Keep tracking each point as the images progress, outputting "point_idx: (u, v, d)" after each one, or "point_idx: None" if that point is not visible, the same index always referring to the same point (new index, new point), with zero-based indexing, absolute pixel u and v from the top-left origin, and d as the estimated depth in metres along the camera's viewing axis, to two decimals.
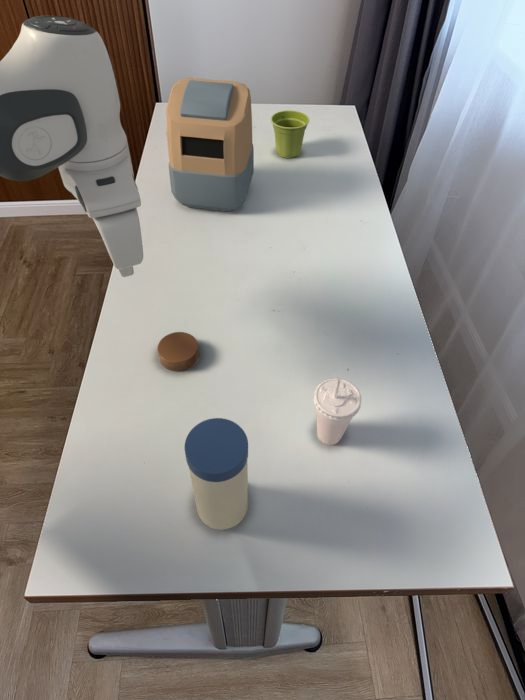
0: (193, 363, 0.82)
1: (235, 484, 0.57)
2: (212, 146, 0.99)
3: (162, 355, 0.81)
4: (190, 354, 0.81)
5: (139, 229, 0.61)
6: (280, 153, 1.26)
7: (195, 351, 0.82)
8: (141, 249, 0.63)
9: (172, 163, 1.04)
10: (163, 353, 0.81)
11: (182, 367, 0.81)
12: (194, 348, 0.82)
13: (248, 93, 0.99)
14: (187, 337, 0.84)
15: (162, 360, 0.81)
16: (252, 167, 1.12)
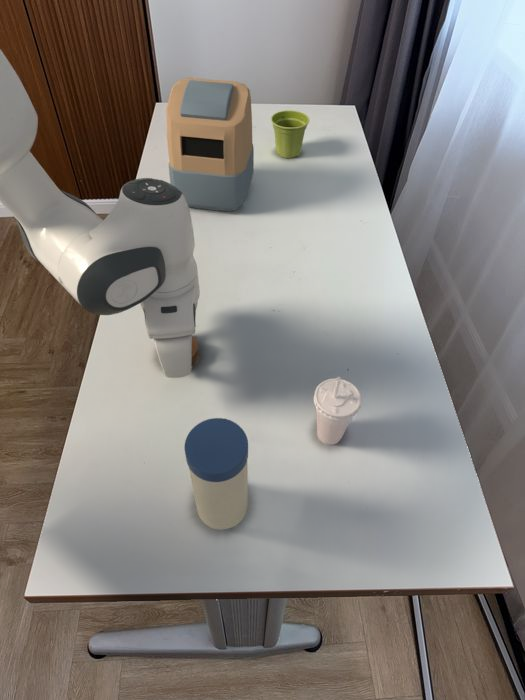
0: (193, 363, 0.82)
1: (235, 484, 0.57)
2: (212, 146, 0.99)
3: None
4: None
5: (190, 352, 0.69)
6: (280, 153, 1.26)
7: (195, 351, 0.82)
8: (189, 366, 0.71)
9: (172, 163, 1.04)
10: None
11: None
12: (194, 348, 0.82)
13: (248, 93, 0.99)
14: None
15: None
16: (252, 167, 1.12)
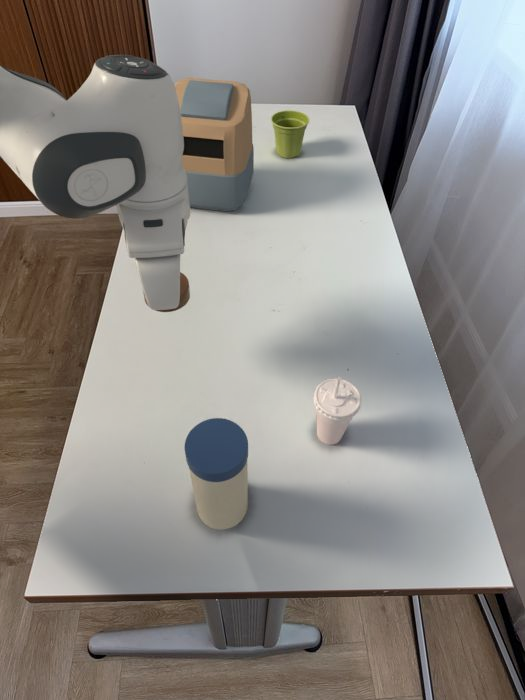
0: (183, 303, 0.72)
1: (235, 484, 0.57)
2: (212, 146, 0.99)
3: None
4: None
5: (177, 276, 0.59)
6: (280, 153, 1.26)
7: (185, 289, 0.71)
8: (177, 295, 0.60)
9: None
10: None
11: None
12: (184, 286, 0.72)
13: (248, 93, 0.99)
14: None
15: None
16: (252, 167, 1.12)
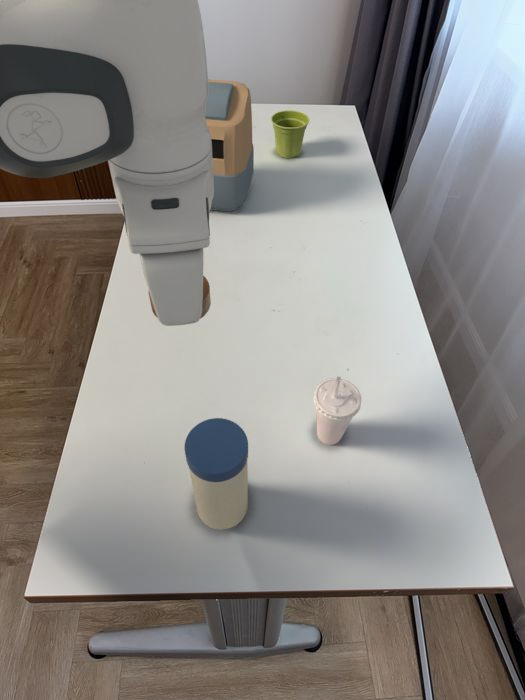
0: (202, 313, 0.55)
1: (235, 484, 0.57)
2: (212, 146, 0.99)
3: None
4: None
5: (200, 279, 0.42)
6: (280, 153, 1.26)
7: (205, 294, 0.54)
8: (199, 305, 0.43)
9: None
10: None
11: None
12: (204, 290, 0.54)
13: (248, 93, 0.99)
14: None
15: None
16: (252, 167, 1.12)
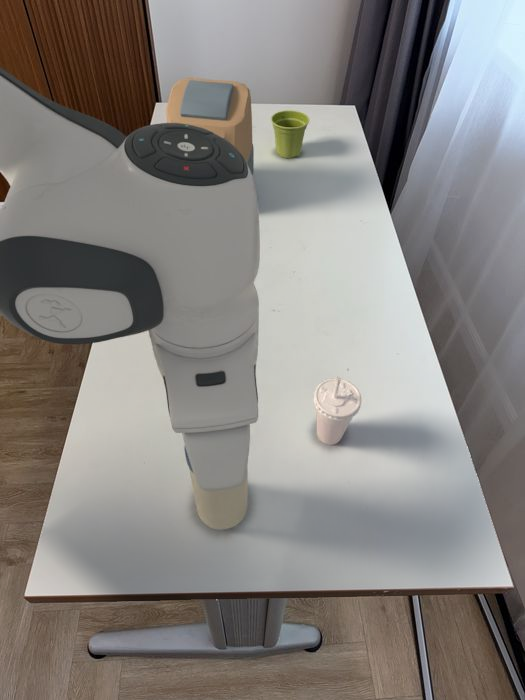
0: None
1: None
2: None
3: None
4: None
5: (247, 452, 0.38)
6: (280, 153, 1.26)
7: None
8: (243, 474, 0.40)
9: None
10: None
11: None
12: None
13: (248, 93, 0.99)
14: None
15: None
16: (252, 167, 1.12)
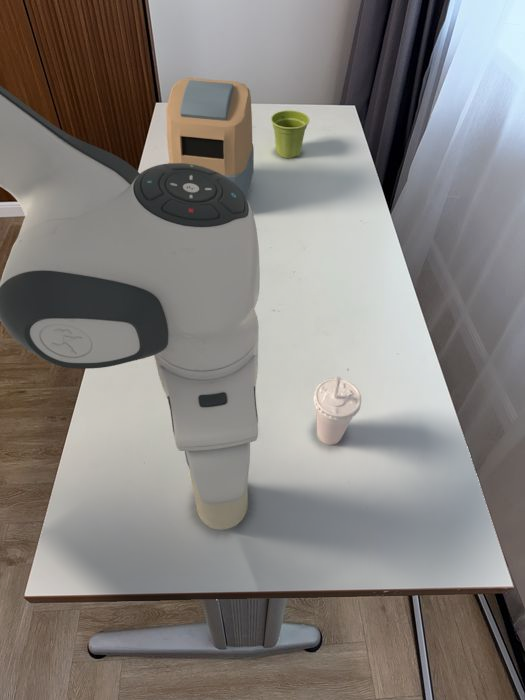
0: None
1: None
2: (212, 146, 0.99)
3: None
4: None
5: (247, 469, 0.40)
6: (280, 153, 1.26)
7: None
8: (244, 488, 0.42)
9: None
10: None
11: None
12: None
13: (248, 93, 0.99)
14: None
15: None
16: (252, 167, 1.12)
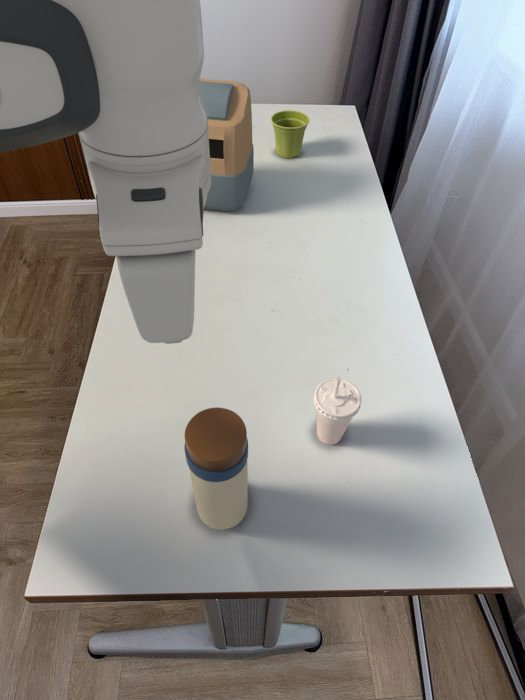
0: (239, 458, 0.54)
1: (235, 484, 0.57)
2: (212, 146, 0.99)
3: (192, 449, 0.52)
4: (235, 447, 0.52)
5: (191, 288, 0.34)
6: (280, 153, 1.26)
7: (243, 441, 0.53)
8: (190, 320, 0.36)
9: None
10: (194, 444, 0.52)
11: (223, 466, 0.53)
12: (241, 436, 0.53)
13: (248, 93, 0.99)
14: (229, 417, 0.55)
15: (192, 456, 0.52)
16: (252, 167, 1.12)
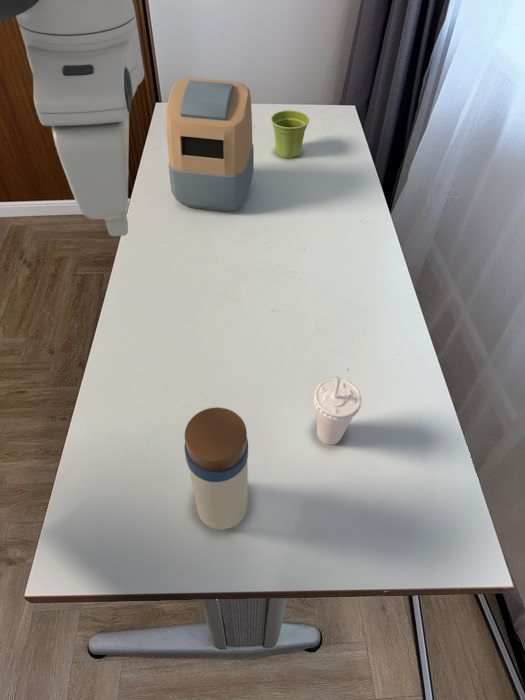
0: (239, 458, 0.54)
1: (235, 484, 0.57)
2: (212, 146, 0.99)
3: (192, 449, 0.52)
4: (235, 447, 0.52)
5: (120, 158, 0.38)
6: (280, 153, 1.26)
7: (243, 441, 0.53)
8: (122, 192, 0.40)
9: (172, 163, 1.04)
10: (194, 444, 0.52)
11: (223, 466, 0.53)
12: (241, 436, 0.53)
13: (248, 93, 0.99)
14: (229, 417, 0.55)
15: (192, 456, 0.52)
16: (252, 167, 1.12)
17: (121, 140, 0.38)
